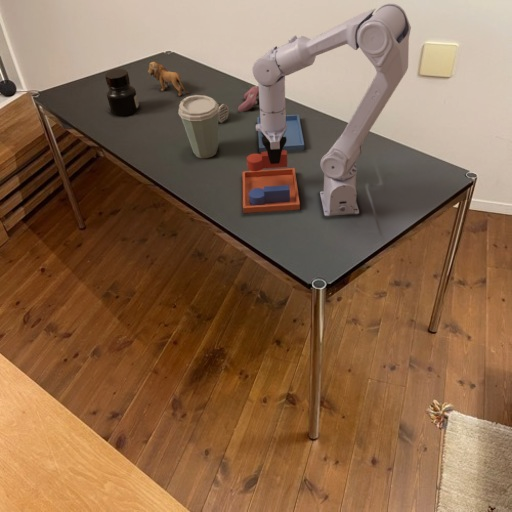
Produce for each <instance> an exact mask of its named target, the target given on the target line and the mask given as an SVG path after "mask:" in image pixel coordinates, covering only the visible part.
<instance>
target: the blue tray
mask: <svg viewBox="0 0 512 512" xmlns="http://www.w3.org/2000/svg"><path fill="white" fill-rule="evenodd" d="M256 119H257V121H256V122H257V124H261V120H260V116H258V117H256ZM286 124H287V129H286V131H285V133H284V135H283V137H286V140H287V141H286V144H285V145H284V147H283V149H282V150H287V152H291V151H304V150H305V142H304V141H305V140H304V135H303V131H302V130H303V129H302V125H301V119H300V115H299V113H298V114H287V115H286ZM257 135H258V138H257V139H258V154H262V152H266V151H267V150H266V148H265V146H264V145H263V143H262V137H263V135H262V133H261V131H257Z"/></svg>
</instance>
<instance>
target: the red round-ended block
mask: <svg viewBox="0 0 512 512" xmlns="http://www.w3.org/2000/svg"><path fill="white" fill-rule="evenodd" d="M246 166H247V167H246V168H247V169H248V171H260V170H264V169H280V168H288V151H287V150H282V153H281V158H280V162H279V163H278V164H271V163H270V160H269V157H268V153H267V151H266V152H262V153H251V154H249V155H248V156H246Z"/></svg>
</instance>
